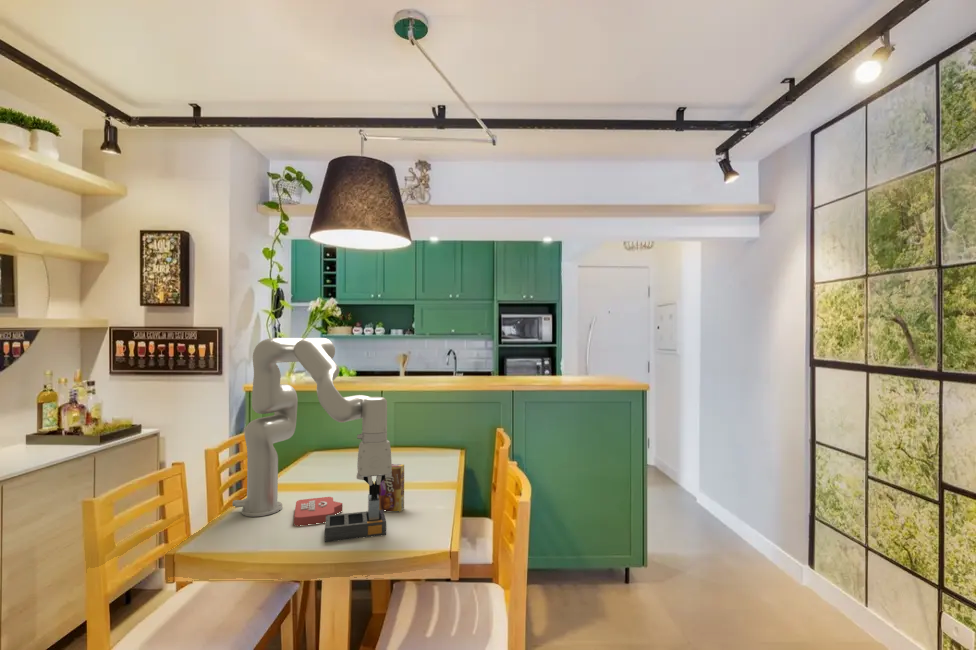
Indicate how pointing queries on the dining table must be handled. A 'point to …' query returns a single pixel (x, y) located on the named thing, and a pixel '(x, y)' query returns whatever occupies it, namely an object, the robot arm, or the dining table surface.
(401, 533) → the dining table surface
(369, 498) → the gray rectangular block
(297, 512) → the plaque
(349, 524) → the rack
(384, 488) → the candy box
